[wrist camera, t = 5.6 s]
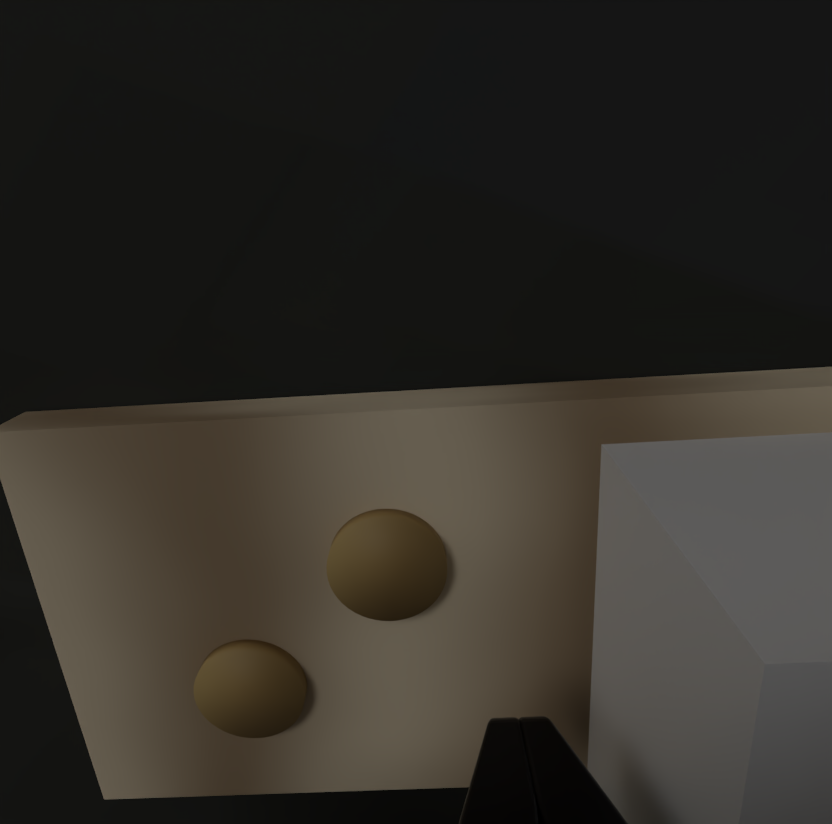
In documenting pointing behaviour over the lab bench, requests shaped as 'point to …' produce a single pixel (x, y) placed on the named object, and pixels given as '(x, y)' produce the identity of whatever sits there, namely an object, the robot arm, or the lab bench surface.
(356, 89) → the lab bench surface
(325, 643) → the plate
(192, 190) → the lab bench surface
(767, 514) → the cover
